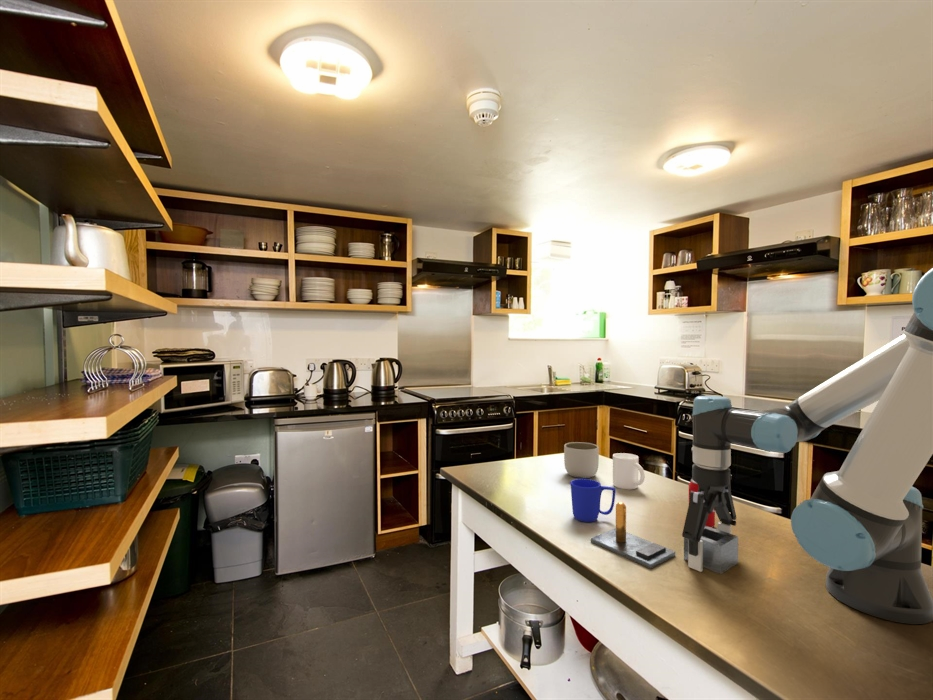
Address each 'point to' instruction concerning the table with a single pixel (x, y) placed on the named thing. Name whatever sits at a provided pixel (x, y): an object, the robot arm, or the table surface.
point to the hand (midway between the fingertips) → (710, 560)
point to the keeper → (632, 543)
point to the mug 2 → (626, 471)
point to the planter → (581, 459)
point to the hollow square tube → (717, 550)
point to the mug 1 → (588, 499)
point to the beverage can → (711, 518)
